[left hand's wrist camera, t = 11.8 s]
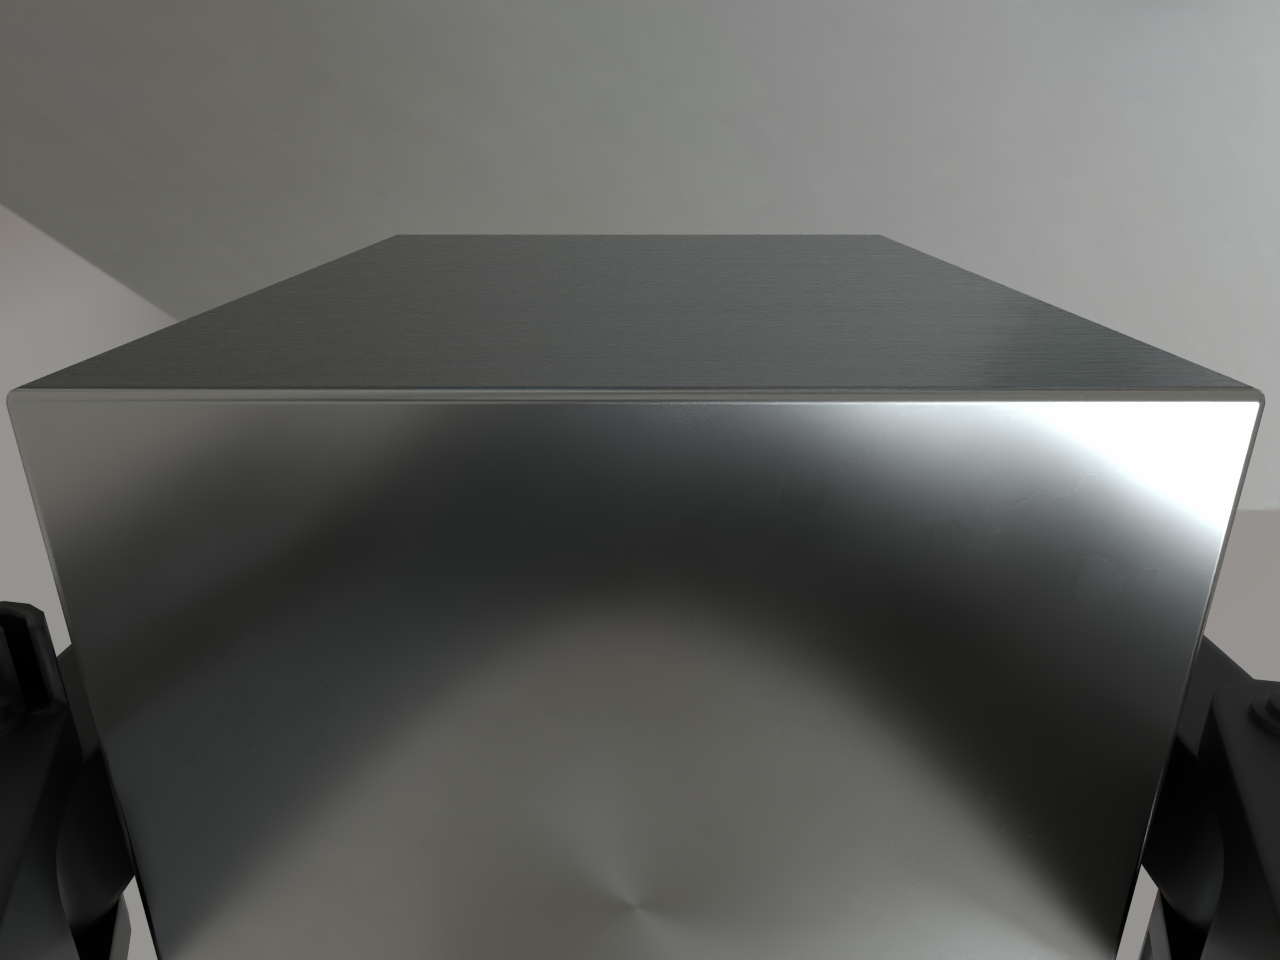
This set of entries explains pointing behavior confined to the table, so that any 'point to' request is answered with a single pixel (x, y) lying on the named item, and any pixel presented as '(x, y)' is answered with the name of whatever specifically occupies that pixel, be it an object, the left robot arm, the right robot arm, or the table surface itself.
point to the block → (636, 602)
